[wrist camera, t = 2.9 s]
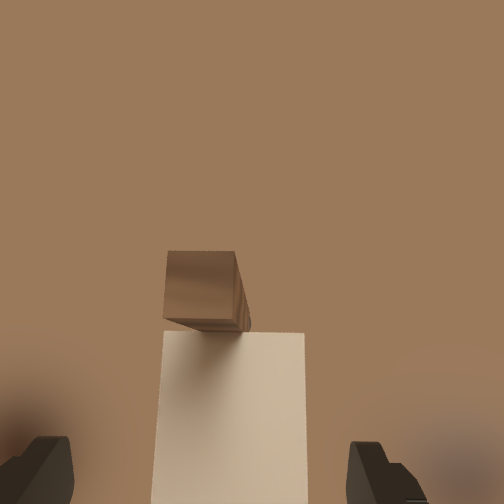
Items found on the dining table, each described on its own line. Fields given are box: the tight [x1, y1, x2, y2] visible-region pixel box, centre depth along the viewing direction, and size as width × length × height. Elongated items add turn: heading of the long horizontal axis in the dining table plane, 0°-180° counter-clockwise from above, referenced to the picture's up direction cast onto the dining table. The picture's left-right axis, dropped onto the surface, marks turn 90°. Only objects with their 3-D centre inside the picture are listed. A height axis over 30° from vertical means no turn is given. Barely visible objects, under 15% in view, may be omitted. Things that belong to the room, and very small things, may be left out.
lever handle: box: [163, 251, 251, 332], centre depth 29 cm, size 26×3×3 cm, turn 179°
